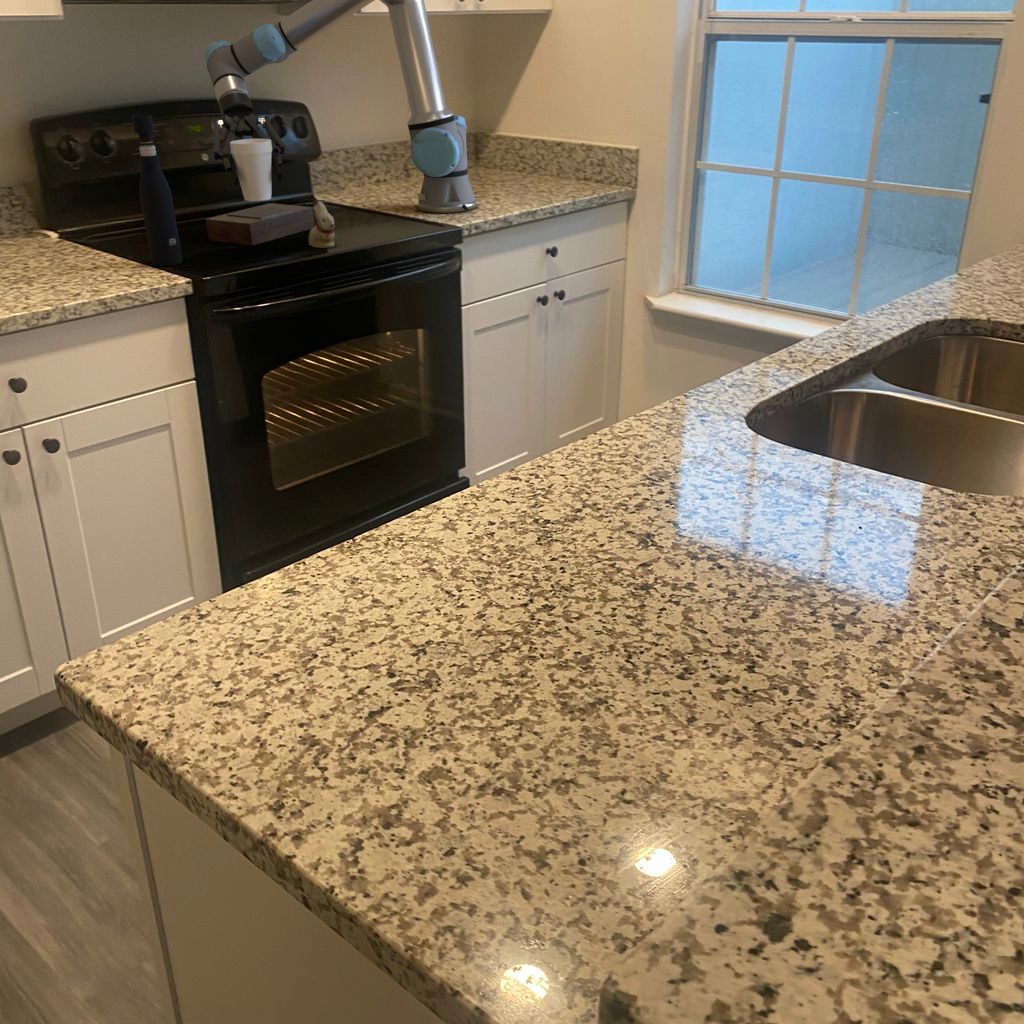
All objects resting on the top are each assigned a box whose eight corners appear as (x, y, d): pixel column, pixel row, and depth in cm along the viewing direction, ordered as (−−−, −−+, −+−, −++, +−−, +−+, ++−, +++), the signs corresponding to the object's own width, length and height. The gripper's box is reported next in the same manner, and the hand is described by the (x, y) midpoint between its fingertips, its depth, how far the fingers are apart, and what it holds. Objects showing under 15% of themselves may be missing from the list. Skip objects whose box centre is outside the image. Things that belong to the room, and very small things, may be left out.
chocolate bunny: (314, 249, 231) (309, 204, 226) (307, 243, 237) (302, 198, 233) (338, 247, 232) (333, 202, 228) (330, 240, 239) (326, 196, 235)
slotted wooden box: (314, 227, 253) (312, 206, 251) (252, 245, 237) (249, 222, 234) (272, 223, 260) (269, 202, 257) (208, 240, 243) (205, 218, 241)
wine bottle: (158, 259, 226) (131, 114, 212) (186, 259, 226) (162, 113, 212) (148, 266, 220) (120, 117, 207) (177, 266, 220) (151, 117, 206)
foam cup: (283, 195, 248) (276, 138, 242) (271, 202, 240) (264, 143, 234) (245, 195, 249) (237, 138, 243) (232, 202, 241) (223, 144, 235)
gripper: (278, 109, 253) (302, 185, 247) (187, 115, 245) (210, 193, 239) (281, 87, 246) (306, 165, 241) (187, 93, 238) (210, 173, 232)
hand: (258, 179), depth 240 cm, fingers closed on foam cup, 9 cm apart
